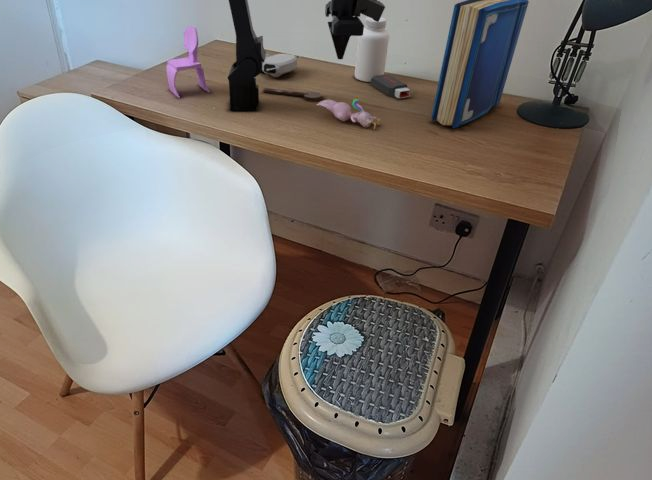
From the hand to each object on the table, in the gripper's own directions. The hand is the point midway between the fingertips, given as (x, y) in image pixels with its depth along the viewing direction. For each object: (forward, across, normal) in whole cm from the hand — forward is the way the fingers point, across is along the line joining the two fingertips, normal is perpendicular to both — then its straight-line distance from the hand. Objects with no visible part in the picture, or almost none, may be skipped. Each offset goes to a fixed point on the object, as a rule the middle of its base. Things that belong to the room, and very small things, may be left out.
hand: (340, 58), depth 119 cm
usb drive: (+12, +12, -16) cm, 23 cm away
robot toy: (+12, +27, +16) cm, 33 cm away
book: (+12, -4, -31) cm, 33 cm away
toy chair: (+12, +11, +36) cm, 40 cm away
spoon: (+12, +9, +10) cm, 18 cm away
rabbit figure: (+12, -8, -2) cm, 14 cm away
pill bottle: (+12, +22, -12) cm, 27 cm away
